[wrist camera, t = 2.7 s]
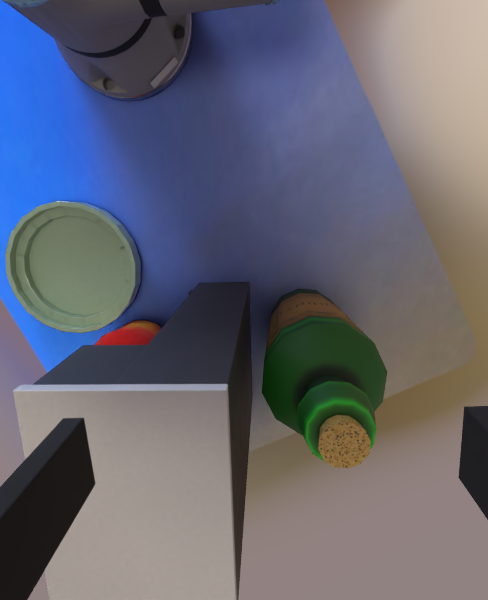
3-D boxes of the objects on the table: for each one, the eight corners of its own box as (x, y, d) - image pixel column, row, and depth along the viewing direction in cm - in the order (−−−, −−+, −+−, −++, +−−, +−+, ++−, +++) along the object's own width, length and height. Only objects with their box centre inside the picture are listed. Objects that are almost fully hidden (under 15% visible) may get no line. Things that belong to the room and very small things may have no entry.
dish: (-5, 245, 52) (-21, 247, 49) (93, 176, 50) (82, 174, 47) (69, 346, 55) (58, 354, 52) (166, 286, 52) (161, 291, 49)
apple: (105, 324, 54) (62, 357, 43) (161, 302, 53) (132, 329, 41) (133, 380, 56) (99, 426, 44) (188, 359, 55) (167, 400, 43)
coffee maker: (163, 399, 56) (47, 622, 26) (153, 283, 52) (5, 390, 22) (252, 398, 55) (237, 627, 26) (249, 281, 52) (226, 390, 22)
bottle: (357, 295, 51) (461, 398, 24) (327, 368, 54) (390, 537, 27) (278, 268, 51) (292, 342, 24) (251, 343, 54) (237, 488, 26)
